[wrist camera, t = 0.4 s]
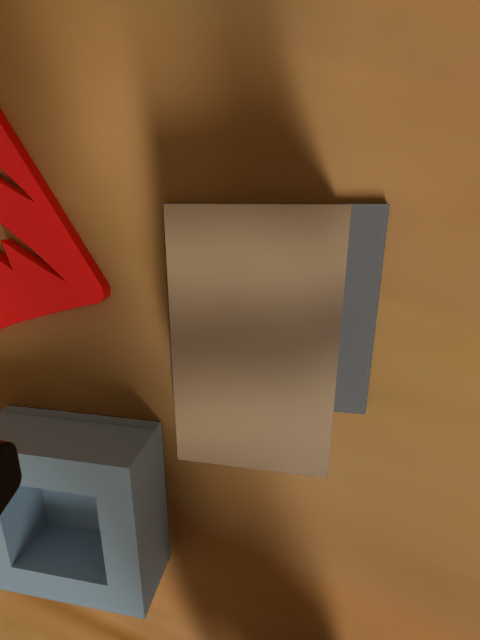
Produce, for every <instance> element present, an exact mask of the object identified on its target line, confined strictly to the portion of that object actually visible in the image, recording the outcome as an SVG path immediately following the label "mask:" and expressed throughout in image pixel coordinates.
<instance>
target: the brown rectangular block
mask: <svg viewBox="0 0 480 640" xmlns="http://www.w3.org/2000/svg"><path fill="white" fill-rule="evenodd" d="M351 206H352V205H348V204H249V203H195V204H163V207H164V224H165V242H166V260H167V278H168V296H169V313H170V331H171V349H172V367H173V385H174V402H175V420H176V438H177V456H178V460H186V461H193V462H201V463H209V464H217V465H225V466H233V467H241V468H249V469H257V470H264V471H272V472H280V473H288V474H296V475H304V476H312V477H320V478H328V469H329V457H330V446H331V434H332V423H333V412H334V400H335V389H336V377H337V366H338V355H339V343H340V332H341V320H342V309H343V298H344V286H345V275H346V263H347V252H348V241H349V229H350V218H351Z"/></svg>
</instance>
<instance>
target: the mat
mask: <svg viewBox="0 0 480 640" xmlns="http://www.w3.org/2000/svg"><path fill="white" fill-rule="evenodd" d="M163 204H195V203H163ZM249 204H262V203H249ZM348 205H352V206H351V218H350V229H349V241H348V252H347V263H346V275H345V286H344V298H343V309H342V320H341V332H340V343H339V355H338V366H337V377H336V389H335V400H334V411H336V412H346V413H356V414H365V411H366V402H367V394H368V385H369V377H370V368H371V360H372V351H373V342H374V334H375V325H376V317H377V308H378V300H379V291H380V282H381V274H382V265H383V257H384V248H385V240H386V231H387V222H388V214H389V205H390V204H348ZM163 218H164V207H163ZM164 236H165V224H164ZM165 253H166V242H165ZM166 271H167V260H166ZM167 289H168V278H167ZM168 306H169V296H168ZM169 324H170V313H169ZM170 342H171V331H170ZM171 359H172V349H171ZM172 377H173V367H172ZM173 395H174V385H173Z"/></svg>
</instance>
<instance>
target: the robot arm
mask: <svg viewBox="0 0 480 640" xmlns="http://www.w3.org/2000/svg"><path fill="white" fill-rule="evenodd" d="M21 480H22V473H21V468H20V462H19V457H18V452H17V448H16V446H15V444H14V443H12V442H10V441H3V440H0V515H1V514H2V512H3V511H4V509H5V508H6V506H7V505H8V503H9V502H10V500H11V499H12V497H13V496H14V494H15V493H16V491H17V490H18V488H19V486H20V484H21Z"/></svg>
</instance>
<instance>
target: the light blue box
mask: <svg viewBox="0 0 480 640" xmlns="http://www.w3.org/2000/svg"><path fill="white" fill-rule="evenodd" d="M0 440H3V441H10V442H12V443H14V444H15V446H16V448H17V452H18V457H19V462H20V468H21V473H22V480H21V484H20V486H19V488H18V490H17V491H16V493H15V494H14V496H13V497H12V499H11V500H10V502H9V503H8V505H7V506H6V508H5V509H4V511H3V512H2V514H1V515H0V589H2V590H6V591H11V592H16V593H21V594H26V595H31V596H35V597H40V598H45V599H50V600H55V601H60V602H65V603H69V604H74V605H79V606H84V607H89V608H94V609H98V610H103V611H108V612H113V613H118V614H123V615H127V616H132V617H137V618H142V619H145V617H146V615H147V612H148V610H149V607H150V605H151V602H152V600H153V597H154V595H155V592H156V590H157V588H158V585H159V583H160V580H161V578H162V575H163V573H164V570H165V568H166V565H167V563H168V560H169V558H170V542H169V528H168V513H167V499H166V485H165V470H164V456H163V441H162V427H161V422H156V421H147V420H138V419H129V418H120V417H111V416H102V415H92V414H83V413H74V412H65V411H56V410H47V409H38V408H29V407H19V406H10V405H8V406H7V407H5V408H4V409H2V410H1V411H0Z"/></svg>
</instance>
